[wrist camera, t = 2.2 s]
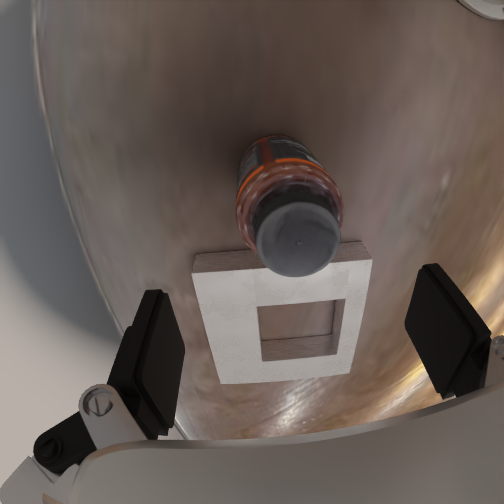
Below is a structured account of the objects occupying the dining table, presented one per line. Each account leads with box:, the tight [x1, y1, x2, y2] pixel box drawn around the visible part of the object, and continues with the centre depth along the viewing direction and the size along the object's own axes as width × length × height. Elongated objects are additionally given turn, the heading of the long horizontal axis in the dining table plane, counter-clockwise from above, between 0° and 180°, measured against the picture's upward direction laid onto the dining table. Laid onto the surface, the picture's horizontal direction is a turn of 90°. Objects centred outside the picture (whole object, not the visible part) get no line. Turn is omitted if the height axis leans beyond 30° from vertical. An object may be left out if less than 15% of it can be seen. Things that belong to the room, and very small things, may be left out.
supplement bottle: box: [236, 135, 344, 277], centre depth 19 cm, size 6×6×11 cm
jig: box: [191, 241, 373, 384], centre depth 30 cm, size 15×16×3 cm
